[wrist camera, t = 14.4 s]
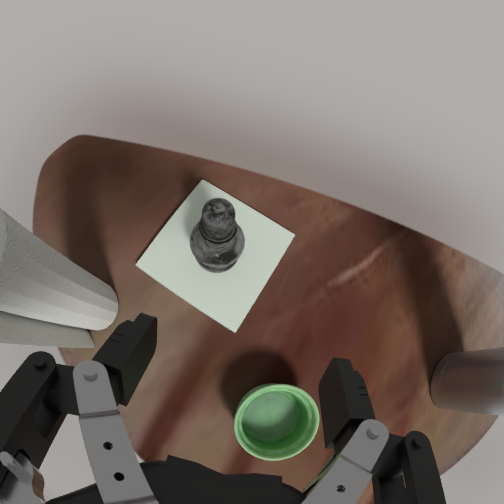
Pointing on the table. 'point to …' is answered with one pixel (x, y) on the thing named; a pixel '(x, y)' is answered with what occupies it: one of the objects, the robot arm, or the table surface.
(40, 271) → the paper towel roll
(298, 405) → the ramekin
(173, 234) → the sage tile
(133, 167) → the table surface
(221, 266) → the salt shaker
